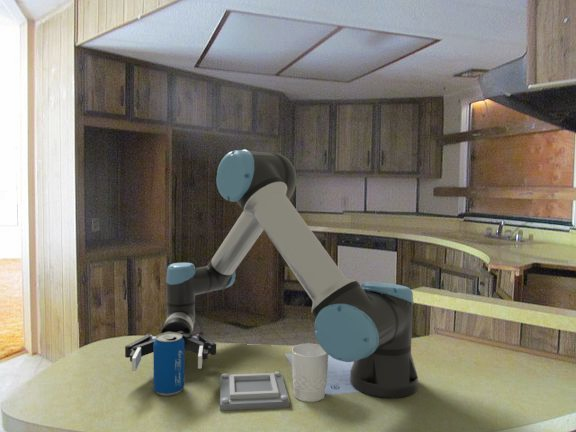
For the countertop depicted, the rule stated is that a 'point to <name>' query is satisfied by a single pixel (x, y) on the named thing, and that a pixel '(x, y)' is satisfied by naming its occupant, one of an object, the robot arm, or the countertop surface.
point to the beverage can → (168, 363)
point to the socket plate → (252, 391)
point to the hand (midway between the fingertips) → (167, 363)
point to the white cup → (309, 372)
